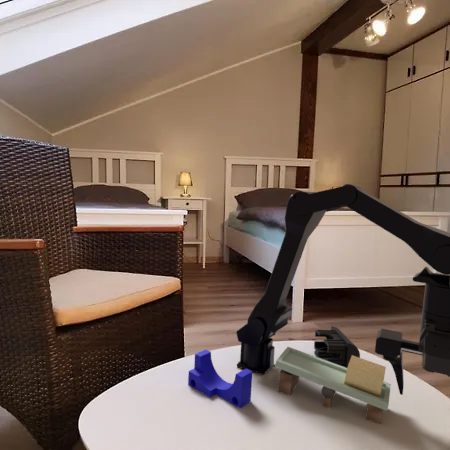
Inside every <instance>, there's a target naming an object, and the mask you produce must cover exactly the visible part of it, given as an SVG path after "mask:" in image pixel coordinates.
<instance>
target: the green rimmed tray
mask: <svg viewBox="0 0 450 450" xmlns="http://www.w3.org/2000/svg"><path fill="white" fill-rule="evenodd" d="M275 361H276V362H275V366H274V367H275V368H277V369H279V370H284V371H287V372H289V373H292V374H294V375H297V376H299V378H302V379H305V380H307V381H310V382H312V383H315V384H317V385H319V386H325V387H327V388H330V389H332V390H335V391H336V393H339V394H342V395H345V396H347V397H351V398H353V399H355V400H358V401H360V402H363V403H366V404H367V403H368V404H370V405H373V406H375V407H378V408H380V409H383V411H386V412H387V411H388V408H389V403H390V395H391V386H392V384H391V383H389V382H386V381H383V385H382V389H381V393H380V398H379V397H376V396H373V395H371V394H368V393H366V392H363V391H360V390H358V389H355V388H353V387H350V386H347V385H345V384H344V381H345V377H346V372H347V368H345V367H343V366H340V365H337V364H334V363H332V362H329V361H326V360H323V359H321V358H318V357H316V356H315V355H312V354H310V353H306V352H303V351H301V350H298V349H295V348H292V347H289V346H287V347H285V349H284V350H283V352H282V353H281V354H280V355H279V356H278V358H277V359H276V360H275Z"/></svg>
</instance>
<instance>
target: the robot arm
mask: <svg viewBox="0 0 450 450" xmlns="http://www.w3.org/2000/svg"><path fill="white" fill-rule="evenodd" d="M285 208H286V209H285V213H284V224H285V225H284V226H285V233H284V237H283V240H282V243H281V245H280V248H279V250H278V254H277V257H276V260H275V262H274V266H273V268H272V272H271V274H270V276H269V280H268V282H267V286H266V289H265V290H264V293H263V295H262V297H261V298H260V299H259V301H258V302H257V303H256V304H255V305H254V307H253V309H252V311H251V312H250V314H249V316H248V318H247V323H246V324H245V325H243V326H242V327H240V328H239V329H238V330H237V331H236V337H237V341H238V342H239V343H240V357H239V361H238V362H237V364H236V367H237V368H240V369H242V370H244V369H248V370H250V371H253V372H254V373H256V374H260V375H265V374H266V373H267V372H268V371H269V369H271V368H272V366H273V365H274V363H275V348H276V347H275V345H274V346H273V344H274V343H273V342H274V341H273V340H274V339H273V338H272V337H274V336H276V334H277V332H278V331H279V330H281V329H283V328H284V327H286V326H287V325H288V324H289V323H288V320H289V317H290V315H291V314H292V312H293V308H291V307H288V306H287V305H288V304H287V297H288V295H289V291H290V289H291V286H292V283H293V280H294V277H295V275H296V272H297V269H298V266H299V264H300V261H301V259H302V257H303V256H302V255H303V253H304V250H305V248H306V245H307V242H308V239H309V238H310V236H311V235H312V234H313V232H314V231H315V230H316V228H317V227H318V225H320V223H321V221H322V219H323V218H324V216H325V214H326V213H328V212H331V211H335V210H339V209H343V208H349V209H350V210H351V211H354V212H355V213H356V214H358V215H360V216H362V217H363V218H365V219H367V220H368V221H370V222H371V223H373V224H375V225H377V226H378V227H379V228H381V229H382V230H385V231H386V232H388V233H389V234H391V235H392V236H394V237H396V238H397V239H399V240H401V241H403V242H404V243H405V244H406V245H407V246H409V248H411V249H412V251H413V252H415V254H416V255H417V256H418V257H419V258H420V259H422V261H424V262H425V263H426V264H428V265H429V266H430V267H431V268H432V270H434V271H436V272H433V271H431V270H430V269H429V267H428V266H424V267H423V269H422V270H421V271H420V272H417V273H415V275H414V276H413V277H412V281H413V282H416V283H421V284H424V294H423V295H424V296H423V303H422V309H421V310H422V311H421V320H420V329H419V338H418V342H417V341H412V340H407V339H403V332H401V331H396V330H391V329H387V328H381V329H379V330H378V331H377V335H376V339H375V346H374V347H375V348H374V353H375V354H377V355H381V356H382V359H383V360H385V361H387V362H389V363H390V365H391V368H392V370H393V372H394V375H395V379H396V383H397V387H398V392H399V394H400V395H404V394H403V393H404V385H405V384H404V382H405V381H404V379H405V378H404V359H403V356H404V355H403V353H404V352H405V353H411V354H413V355H418V356H419V355H420V356H422V358H421V361H422V362H421V367H422V369H423V370H424V371H426V372H428V373H433V374H434V373H437V374H441V375H445V376H447V377H448V378H450V232H448V231H445V230H443V229H440V228H436V227H434V226H431V225H427V224H424V223H422V222H419V221H418V220H416V219H415V218H413V217H411V216H409V215H408V214H406V213H404V212H402V211H400V210H398V209H396V208H395V207H393V206H391V205H389V204H388V203H386V202H384V201H382V200H381V199H379V198H378V197H376V196H374V195H372V194H370V193H369V192H367V191H365V190H364V189H363V188H362V187H361V186H359V185H356V184H353V183H345V184H343V185H340V186H338V187H334V188H330V189H324V190H320V191H316V192H315V191H302V190H301V191H297V192H295V193H293V194H291V195H290V196H289V198H288V200H287V203H286V207H285ZM253 372H252V373H253Z"/></svg>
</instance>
